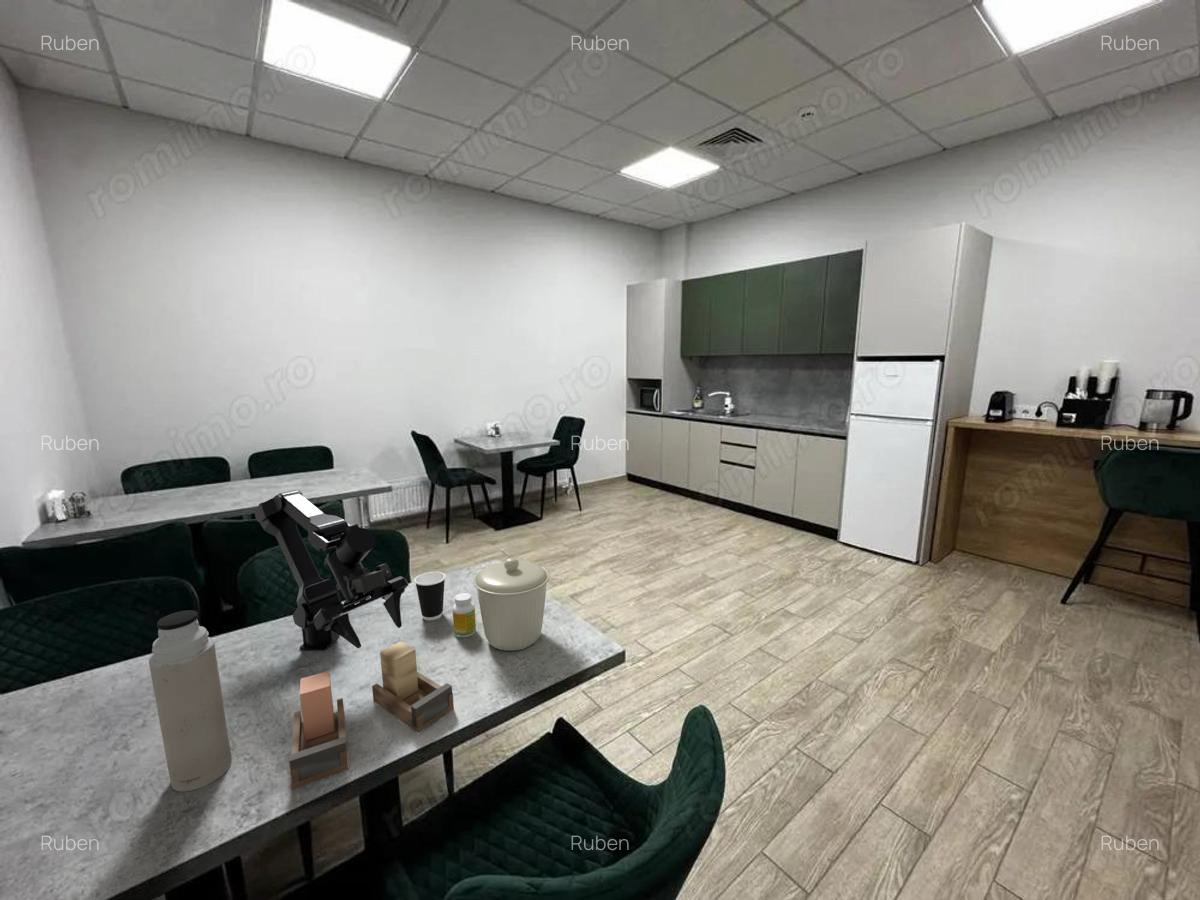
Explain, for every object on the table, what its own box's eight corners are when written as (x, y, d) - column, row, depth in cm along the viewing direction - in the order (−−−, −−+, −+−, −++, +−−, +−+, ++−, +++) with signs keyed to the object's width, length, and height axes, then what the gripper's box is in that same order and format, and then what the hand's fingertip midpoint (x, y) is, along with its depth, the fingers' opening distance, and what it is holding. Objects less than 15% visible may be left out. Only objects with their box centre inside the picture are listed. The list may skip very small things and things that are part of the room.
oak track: (373, 701, 98) (371, 679, 98) (408, 680, 105) (407, 659, 104) (418, 733, 90) (416, 709, 89) (453, 708, 96) (452, 686, 95)
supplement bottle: (469, 639, 121) (468, 602, 119) (449, 636, 122) (447, 600, 120) (479, 627, 126) (477, 592, 124) (460, 625, 127) (458, 590, 125)
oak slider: (383, 692, 99) (379, 651, 97) (404, 681, 103) (400, 641, 101) (397, 702, 96) (394, 660, 95) (418, 690, 100) (415, 649, 98)
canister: (564, 644, 118) (563, 562, 115) (493, 670, 108) (489, 581, 105) (530, 613, 133) (528, 539, 129) (465, 633, 123) (461, 554, 119)
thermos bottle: (157, 793, 77) (127, 631, 72) (194, 754, 85) (169, 605, 80) (211, 790, 78) (184, 629, 73) (242, 751, 86) (220, 603, 81)
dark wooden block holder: (296, 729, 91) (293, 705, 90) (344, 714, 95) (341, 691, 94) (292, 789, 78) (289, 762, 77) (348, 769, 82) (345, 743, 81)
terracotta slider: (305, 723, 91) (300, 678, 89) (334, 714, 93) (329, 670, 91) (305, 740, 86) (299, 694, 85) (334, 731, 89) (329, 685, 87)
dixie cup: (453, 616, 132) (451, 577, 130) (424, 627, 126) (422, 587, 124) (439, 605, 137) (437, 568, 135) (411, 615, 132) (409, 577, 130)
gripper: (317, 571, 94) (351, 644, 91) (402, 542, 109) (435, 604, 106) (299, 595, 100) (331, 664, 97) (383, 564, 115) (412, 623, 112)
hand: (380, 637), depth 103 cm, fingers open, 9 cm apart
